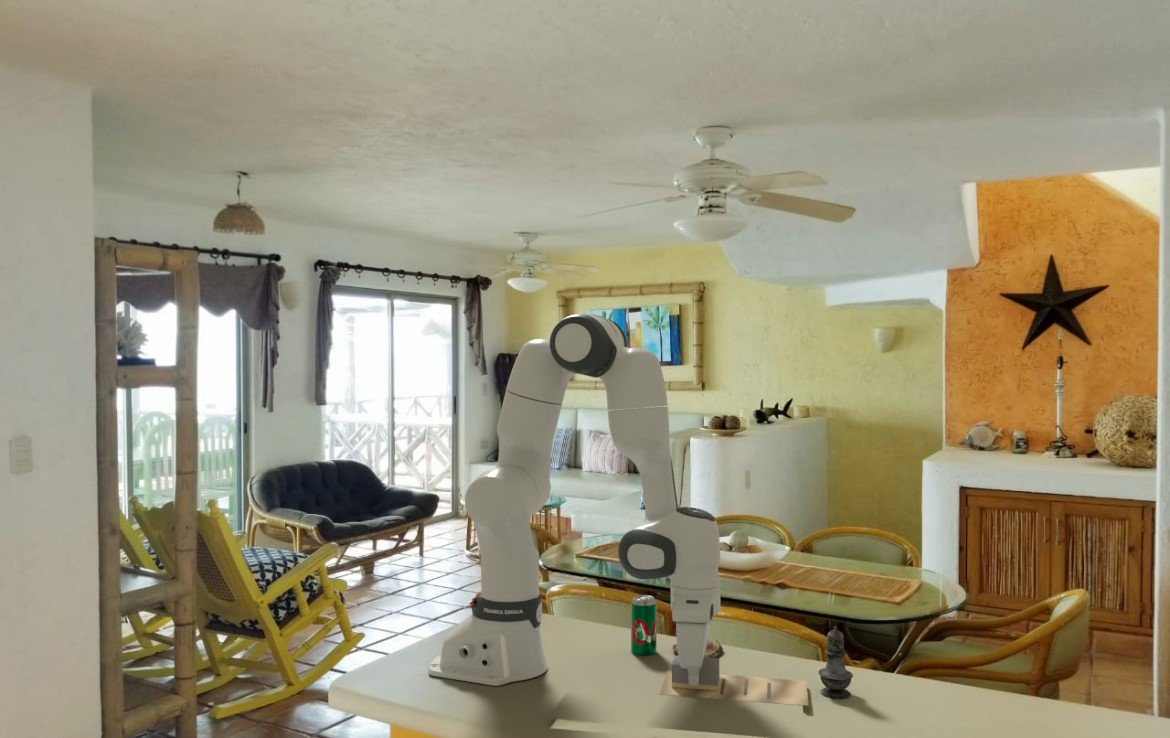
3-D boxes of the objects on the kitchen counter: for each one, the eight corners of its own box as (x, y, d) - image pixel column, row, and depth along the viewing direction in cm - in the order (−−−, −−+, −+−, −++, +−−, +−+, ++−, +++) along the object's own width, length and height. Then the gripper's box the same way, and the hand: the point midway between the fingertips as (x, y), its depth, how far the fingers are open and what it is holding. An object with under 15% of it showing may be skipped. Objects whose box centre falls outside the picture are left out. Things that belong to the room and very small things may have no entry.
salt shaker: (817, 697, 150) (816, 628, 150) (820, 686, 156) (819, 619, 156) (852, 701, 148) (852, 631, 148) (854, 690, 154) (853, 622, 154)
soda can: (647, 652, 175) (646, 593, 175) (661, 659, 171) (661, 598, 171) (626, 656, 173) (626, 596, 173) (640, 663, 168) (640, 602, 168)
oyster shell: (669, 650, 178) (669, 634, 179) (717, 648, 179) (717, 633, 179) (677, 671, 165) (676, 655, 165) (729, 669, 165) (728, 653, 165)
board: (659, 700, 149) (659, 693, 149) (667, 677, 161) (667, 670, 161) (808, 712, 143) (808, 705, 143) (806, 687, 155) (806, 680, 155)
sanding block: (671, 687, 152) (671, 664, 152) (675, 677, 157) (674, 655, 157) (717, 690, 150) (717, 667, 150) (719, 680, 155) (719, 658, 155)
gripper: (683, 585, 164) (684, 657, 164) (671, 614, 144) (671, 696, 144) (717, 586, 163) (717, 660, 163) (709, 616, 143) (709, 699, 143)
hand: (695, 677), depth 153 cm, fingers closed on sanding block, 5 cm apart
